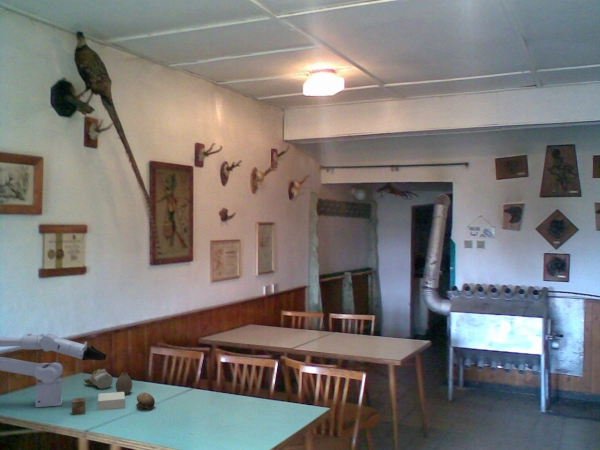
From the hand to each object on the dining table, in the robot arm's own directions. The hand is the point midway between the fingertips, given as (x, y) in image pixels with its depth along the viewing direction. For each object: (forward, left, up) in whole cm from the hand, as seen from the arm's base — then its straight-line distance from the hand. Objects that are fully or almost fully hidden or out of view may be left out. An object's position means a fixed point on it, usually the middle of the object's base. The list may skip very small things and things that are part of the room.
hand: (104, 357), depth 236 cm
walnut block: (-9, -10, -18) cm, 23 cm away
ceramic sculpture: (-2, +25, -19) cm, 31 cm away
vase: (+8, +11, -19) cm, 23 cm away
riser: (+3, -4, -19) cm, 19 cm away
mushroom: (+16, -11, -19) cm, 27 cm away
